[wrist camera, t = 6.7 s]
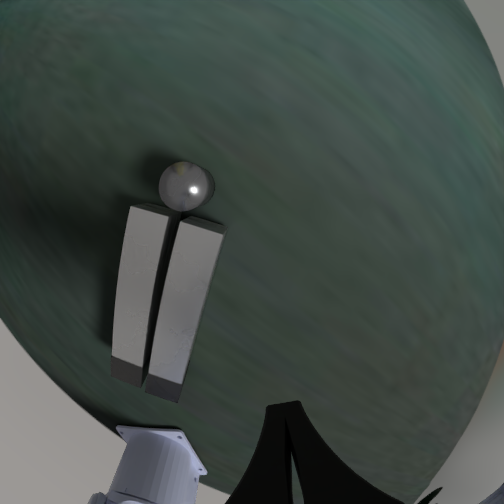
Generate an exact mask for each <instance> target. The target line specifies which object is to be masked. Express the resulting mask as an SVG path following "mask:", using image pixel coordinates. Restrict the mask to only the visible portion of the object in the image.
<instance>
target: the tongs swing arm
mask: <svg viewBox="0 0 504 504" xmlns="http://www.w3.org/2000/svg"><path fill="white" fill-rule="evenodd" d="M227 228H228V227H226V226H223V225H220V224H217V223H214V222H210V221H207V220H204V219H201V218H198V217H194V216H190V217H188V218H186V219H184V220H182V221H180V224H179V228H178V232H177V235H176V239H175V243H174V247H173V251H172V255H171V259H170V263H169V268H168V272H167V276H166V281H165V285H164V290H163V295H162V299H161V304H160V309H159V314H158V319H157V325H156V330H155V336H154V341H153V347H152V353H151V360H150V366H149V372H148V374H147V382H146V389H145V392H146V393H149V394H152V395H155V396H158V397H160V398H163V399H166V400H169V401H172V402H176V403H178V400H179V397H180V393H181V390H182V387H183V384H184V381H185V377H186V373H187V370H188V366H189V362H190V360H189V359H190V356H191V352H192V348H193V345H194V341H195V337H196V334H197V330H198V326H199V323H200V319H201V316H202V312H203V308H204V305H205V301H206V298H207V295H208V291H209V288H210V284H211V281H212V277H213V274H214V271H215V267H216V264H217V261H218V257H219V254H220V251H221V247H222V244H223V241H224V238H225V234H226V231H227Z"/></svg>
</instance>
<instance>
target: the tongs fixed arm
mask: <svg viewBox="0 0 504 504" xmlns="http://www.w3.org/2000/svg"><path fill="white" fill-rule="evenodd" d="M214 191H215V181H214V178H213V176H212V175H211V174H210V172H208V171H207V170H206V169H204V168H202V167H199V166H197V165H195V164H193V163H190V162H178V163H175V164H173V165H171V166H169V167H168V168H167V169H166V170H165V171H164V172H163V174H162V176H161V178H160V181H159V193H160V197H161V199H162V200H163V202H164V203H165V204H166V205H167V206H168V207H169V208H171V209H169V208H166V207H162V206H159V205H155V204H151V203H145V204H139V205H133V206H130V211H129V216H128V220H127V226H126V231H125V236H124V242H123V248H122V254H121V260H120V267H119V274H118V282H117V291H116V301H115V312H114V325H113V344H112V356H111V376H112V377H114V378H117V379H119V380H122V381H124V382H127V383H129V384H132V385H134V386H137V387H140V388H141V386H142V384H143V382H144V380H145V378H146V376H147V374H148V372H149V366H150V360H151V353H152V347H153V341H154V336H155V330H156V325H157V319H158V314H159V309H160V304H161V299H162V295H163V290H164V285H165V281H166V276H167V272H168V268H169V263H170V259H171V255H172V250H173V246H174V242H175V237H176V233H177V229H178V225H179V221H180V217H181V213H182V212H180V211H188V210H191V209H194V208H197V207H199V206H202V205H204V204H206V203H207V202H208V201H209V200H210V199H211V198H212V196H213V194H214Z"/></svg>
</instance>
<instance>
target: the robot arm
mask: <svg viewBox="0 0 504 504" xmlns="http://www.w3.org/2000/svg"><path fill="white" fill-rule="evenodd" d="M116 430H117V431H118V432H119V434H120V435H121V437H122V438H123V439H124V441H125V442H126V443H127V446H126V449H125V451H124V453H123V456H122V459H121V461H120V463H119V466H118V468H117V471H116V473H115V476H114V479H113V481H112V484H111V486H110V489H109V492H108V493H107V494H106V495H104V494H103V493H101V492H99V493H96V494H93V495H92V496H91V498H90V500H89V502H88V504H195V501H196V494H197V488H198V481H199V475H206V474H207V470H206V469H205V467H204V466H203V464H202V463H201V461H200V459H199V458H198V456H197V455H196V453H195V451H194V450H193V448H192V446H191V445H190V443H189V441H188V440H187V438H186V436H185V435H184V433H183V431H181V430H179V429H158V428H142V427H131V426H121V425H117V427H116ZM291 452H292V456H293V460H294V463H295V467H296V471H297V474H298V478H299V482H300V485H301V489H302V494H303V498H304V504H404V503H403V502H401V501H399V500H397V499H395V498H393V497H391V496H389V495H388V494H386V493H384V492H382V491H381V490H379V489H377V488H376V487H374V486H373V485H371V484H370V483H369V482H367V481H366V480H364V479H363V478H362V477H360V476H359V475H358V474H356V473H355V472H354V471H353V470H352V469H350V468H349V467H348V466H347V465H346V464H345V463H344V462H343V461H342V460H341V459H340V458H339V457H338V456H337V455H336V454H335V453H334V452H333V451H332V450H331V449H330V447H329V446H328V445H327V444H326V443H325V441H324V440H323V439H322V438H321V436H320V435H319V433H318V432H317V431H316V429H315V428H314V426H313V425H312V423H311V422H310V420H309V418H308V417H307V415H306V413H305V411H304V409H303V407H302V404H301V402H300V401H298V400H297V401H291V402H286V403H280V404H274V405H268V406H267V407H266V414H265V420H264V424H263V428H262V432H261V435H260V438H259V441H258V444H257V447H256V450H255V452H254V454H253V457H252V459H251V461H250V464H249V466H248V468H247V470H246V472H245V473H244V475H243V477H242V479H241V481H240V482H239V484H238V485H237V487H236V488H235V490H234V492H233V493H232V494H231V496H230V497H229V499H228V500H227V501H226V503H225V504H293V494H292V462H291ZM479 504H504V483H503V484H502V486H501V487H500V488H499V489H497V490H496V491H495V492H494V493H493V494H491V495H490V496H489V497H487V498H486V499H485V500H483V501H482V502H481V503H479Z"/></svg>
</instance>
